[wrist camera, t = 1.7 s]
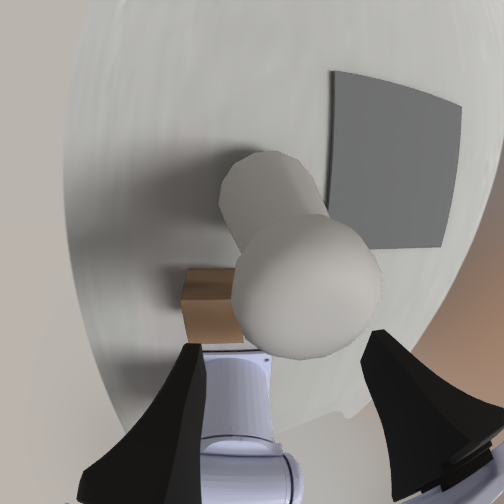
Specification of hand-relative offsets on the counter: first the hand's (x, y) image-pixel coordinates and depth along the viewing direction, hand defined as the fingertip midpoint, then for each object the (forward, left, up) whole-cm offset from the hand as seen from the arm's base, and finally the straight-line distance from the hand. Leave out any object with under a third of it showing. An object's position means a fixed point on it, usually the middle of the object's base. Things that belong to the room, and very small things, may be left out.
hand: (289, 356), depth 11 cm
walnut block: (-4, +4, -11) cm, 12 cm away
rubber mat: (+6, -10, -11) cm, 16 cm away
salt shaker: (+4, 0, -11) cm, 11 cm away
